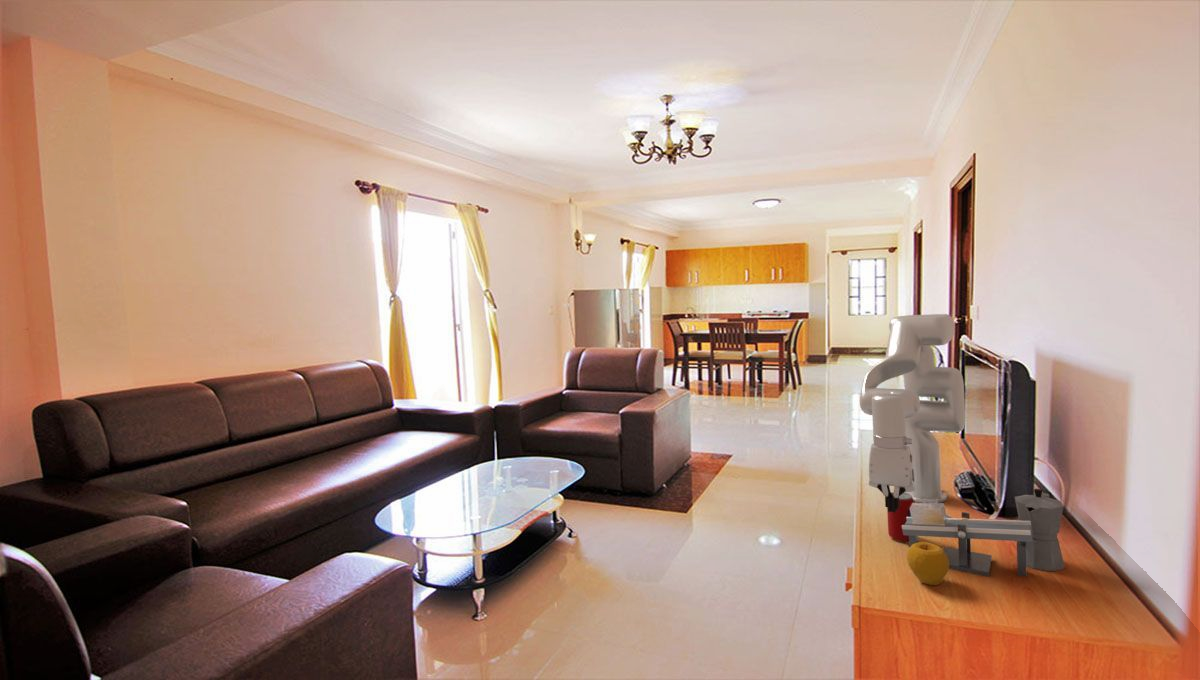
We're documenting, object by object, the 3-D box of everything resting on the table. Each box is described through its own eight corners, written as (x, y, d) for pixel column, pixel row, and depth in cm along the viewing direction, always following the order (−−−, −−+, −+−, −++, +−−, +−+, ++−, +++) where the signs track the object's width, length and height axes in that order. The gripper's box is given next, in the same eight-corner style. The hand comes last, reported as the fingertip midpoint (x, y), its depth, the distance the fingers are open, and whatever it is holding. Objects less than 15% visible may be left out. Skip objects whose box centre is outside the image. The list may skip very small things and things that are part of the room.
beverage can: (920, 543, 145) (918, 499, 145) (893, 543, 147) (891, 499, 146) (911, 533, 152) (909, 491, 151) (885, 532, 153) (883, 491, 152)
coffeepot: (1056, 579, 124) (1054, 501, 123) (1007, 565, 131) (1004, 491, 130) (1075, 556, 133) (1073, 484, 132) (1028, 545, 140) (1026, 476, 139)
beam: (908, 525, 144) (906, 516, 144) (1032, 530, 128) (1030, 520, 128) (903, 535, 139) (901, 525, 139) (1032, 541, 122) (1029, 530, 122)
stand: (914, 543, 145) (912, 503, 145) (1026, 565, 131) (1025, 520, 130) (906, 560, 137) (904, 517, 136) (1026, 585, 122) (1024, 537, 121)
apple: (901, 572, 131) (899, 536, 131) (939, 572, 130) (938, 536, 130) (915, 590, 123) (914, 552, 123) (956, 591, 122) (955, 552, 121)
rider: (916, 521, 142) (912, 502, 142) (947, 523, 137) (943, 503, 137) (913, 527, 138) (909, 508, 138) (945, 529, 134) (941, 509, 134)
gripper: (925, 440, 140) (927, 510, 141) (862, 435, 149) (865, 501, 150) (920, 448, 134) (922, 520, 135) (855, 442, 144) (858, 510, 145)
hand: (892, 510), depth 143 cm, fingers closed
